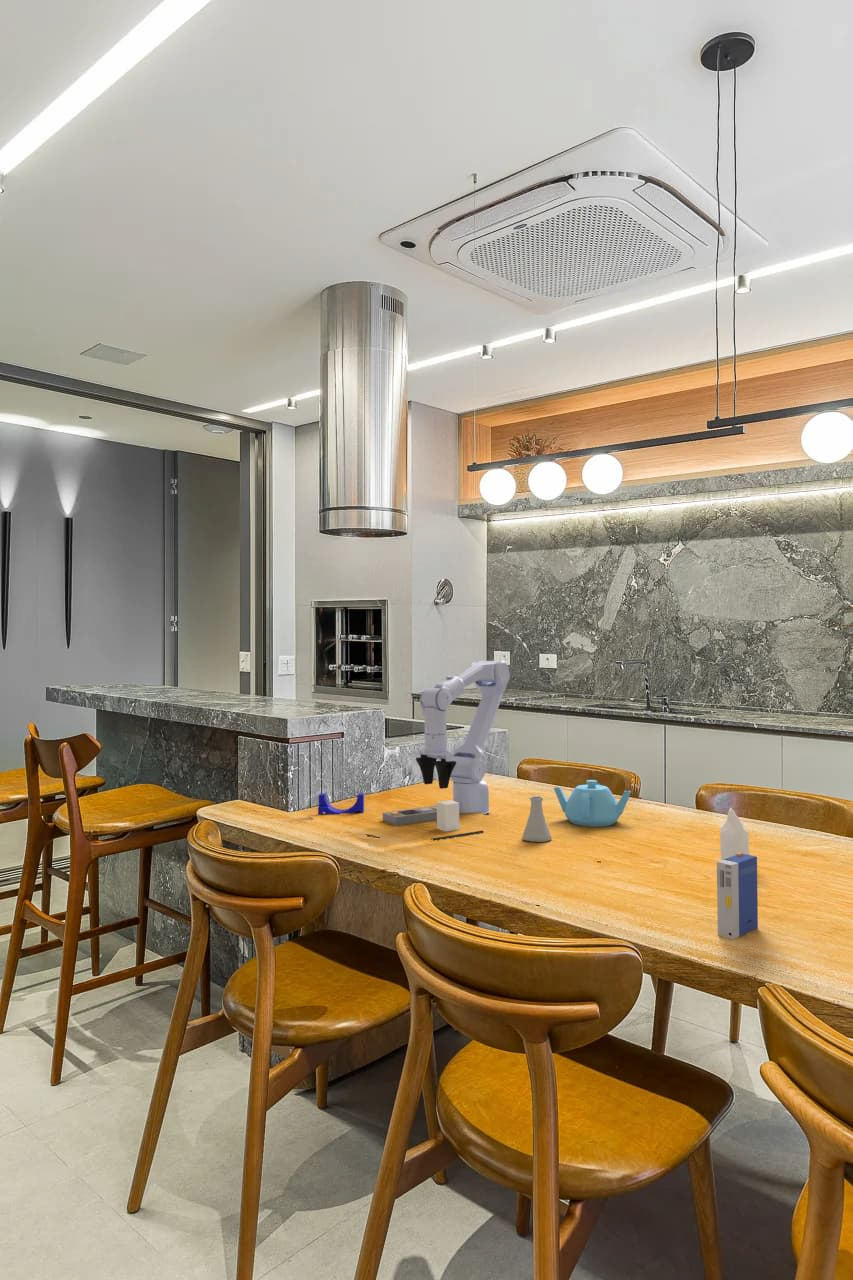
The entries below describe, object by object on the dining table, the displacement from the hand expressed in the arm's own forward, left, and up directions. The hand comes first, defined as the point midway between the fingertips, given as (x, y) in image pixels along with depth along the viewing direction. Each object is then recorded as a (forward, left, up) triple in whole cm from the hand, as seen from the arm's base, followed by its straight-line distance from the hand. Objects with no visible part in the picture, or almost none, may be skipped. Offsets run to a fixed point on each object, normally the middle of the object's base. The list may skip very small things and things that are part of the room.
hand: (435, 786), depth 213 cm
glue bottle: (-29, +70, -10) cm, 76 cm away
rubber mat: (+4, +12, -9) cm, 16 cm away
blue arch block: (+17, -21, -10) cm, 29 cm away
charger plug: (+4, +12, -9) cm, 15 cm away
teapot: (-34, +22, -10) cm, 42 cm away
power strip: (+4, -2, -9) cm, 10 cm away
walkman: (+2, +95, -10) cm, 95 cm away
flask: (-10, +29, -10) cm, 32 cm away
